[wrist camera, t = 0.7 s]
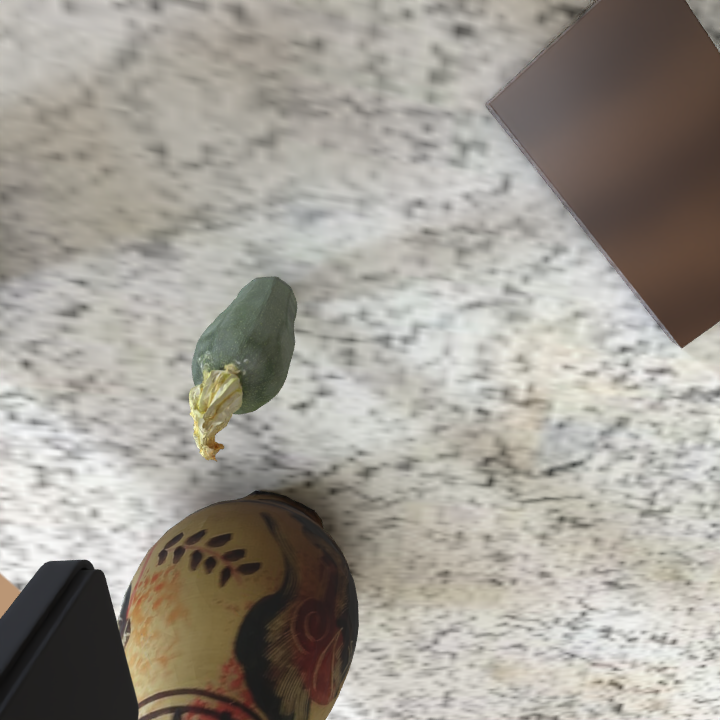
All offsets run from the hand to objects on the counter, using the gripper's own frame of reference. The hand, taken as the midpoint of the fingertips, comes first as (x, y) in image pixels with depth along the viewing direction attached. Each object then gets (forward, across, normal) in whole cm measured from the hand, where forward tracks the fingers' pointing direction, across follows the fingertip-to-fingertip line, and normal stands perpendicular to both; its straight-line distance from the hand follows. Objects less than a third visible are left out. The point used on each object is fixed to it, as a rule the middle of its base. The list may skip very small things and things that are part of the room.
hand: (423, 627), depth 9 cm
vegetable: (+34, +7, +3) cm, 35 cm away
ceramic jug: (+34, +11, +24) cm, 43 cm away
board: (+33, -16, -3) cm, 37 cm away
